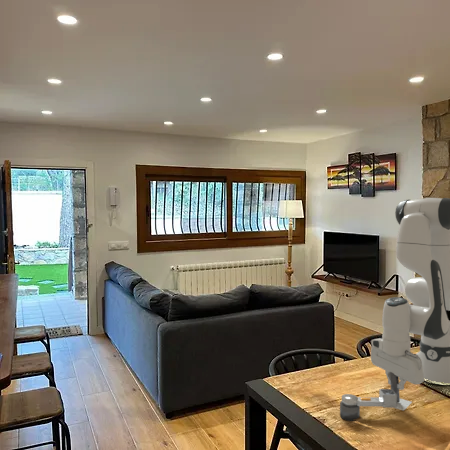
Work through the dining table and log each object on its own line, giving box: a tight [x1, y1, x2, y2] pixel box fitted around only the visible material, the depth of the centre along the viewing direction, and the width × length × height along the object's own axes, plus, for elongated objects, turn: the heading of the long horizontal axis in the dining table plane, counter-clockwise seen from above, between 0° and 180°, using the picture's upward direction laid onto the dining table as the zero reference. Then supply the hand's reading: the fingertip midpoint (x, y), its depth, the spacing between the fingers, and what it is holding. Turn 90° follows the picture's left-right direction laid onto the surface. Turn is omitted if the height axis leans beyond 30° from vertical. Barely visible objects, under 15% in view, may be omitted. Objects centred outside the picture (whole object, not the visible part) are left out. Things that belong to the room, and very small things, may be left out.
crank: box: [341, 388, 397, 409], centre depth 132 cm, size 17×5×4 cm, turn 86°
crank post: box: [339, 400, 361, 422], centre depth 132 cm, size 6×6×4 cm
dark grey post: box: [390, 372, 401, 402], centre depth 140 cm, size 3×3×10 cm
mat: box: [395, 398, 413, 412], centre depth 140 cm, size 8×8×1 cm
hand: (395, 386), depth 140 cm, fingers closed on dark grey post, 2 cm apart
